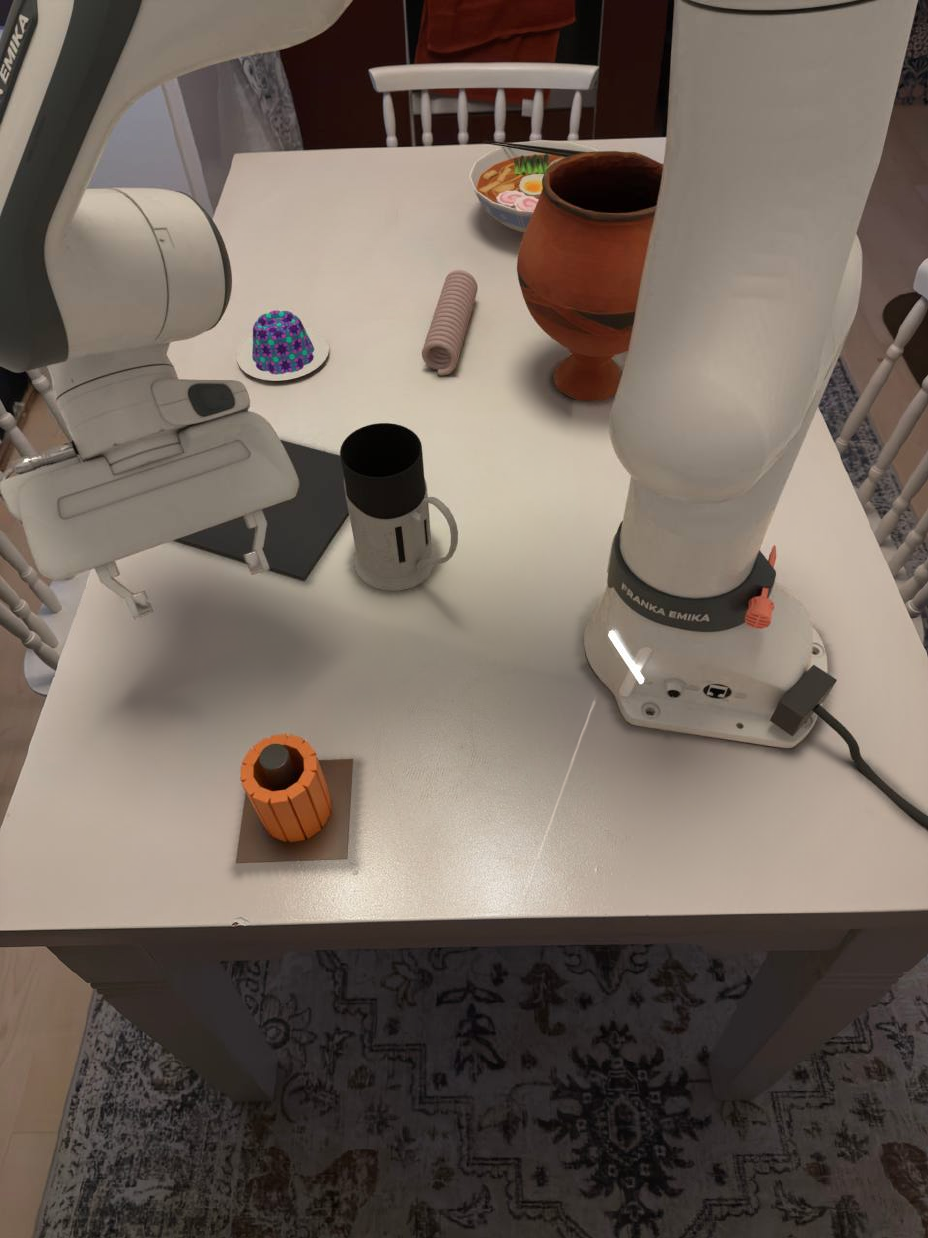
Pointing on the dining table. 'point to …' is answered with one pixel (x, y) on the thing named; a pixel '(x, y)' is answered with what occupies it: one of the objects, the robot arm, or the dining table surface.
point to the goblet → (589, 262)
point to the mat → (289, 518)
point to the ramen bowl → (517, 177)
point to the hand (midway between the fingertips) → (203, 593)
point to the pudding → (281, 348)
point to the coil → (450, 322)
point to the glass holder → (390, 507)
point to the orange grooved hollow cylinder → (288, 791)
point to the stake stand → (318, 847)
